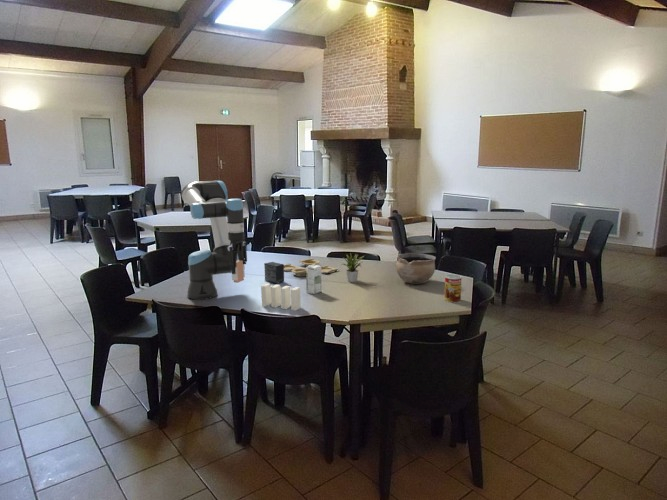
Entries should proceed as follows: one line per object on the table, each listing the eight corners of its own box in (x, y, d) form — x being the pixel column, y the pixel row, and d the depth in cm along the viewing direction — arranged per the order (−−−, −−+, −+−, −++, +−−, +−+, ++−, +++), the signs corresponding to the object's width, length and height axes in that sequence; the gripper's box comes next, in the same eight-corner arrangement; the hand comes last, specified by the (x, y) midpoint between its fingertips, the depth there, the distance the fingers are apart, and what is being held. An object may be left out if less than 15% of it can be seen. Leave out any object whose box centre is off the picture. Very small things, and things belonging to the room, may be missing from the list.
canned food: (450, 303, 242) (451, 279, 240) (441, 299, 249) (441, 275, 247) (463, 301, 245) (464, 277, 243) (454, 296, 252) (454, 274, 250)
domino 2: (261, 305, 243) (261, 285, 241) (267, 302, 247) (266, 283, 245) (266, 306, 242) (265, 286, 240) (271, 303, 246) (270, 283, 244)
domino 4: (281, 308, 238) (280, 288, 236) (286, 305, 243) (285, 285, 241) (285, 309, 237) (285, 288, 235) (290, 305, 242) (290, 286, 240)
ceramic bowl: (387, 282, 280) (387, 256, 276) (409, 275, 295) (410, 250, 292) (421, 290, 265) (421, 262, 262) (442, 281, 280) (443, 255, 277)
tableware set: (342, 272, 304) (341, 266, 304) (300, 280, 288) (300, 273, 288) (311, 262, 333) (311, 256, 332) (272, 268, 317) (272, 262, 316)
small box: (285, 281, 285) (284, 263, 283) (276, 284, 280) (275, 266, 278) (273, 278, 292) (272, 261, 290) (264, 280, 287) (263, 263, 285)
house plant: (363, 285, 275) (363, 256, 271) (338, 284, 277) (338, 255, 274) (366, 278, 288) (366, 251, 285) (343, 277, 291) (342, 250, 288)
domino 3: (271, 307, 241) (270, 287, 239) (276, 304, 245) (276, 284, 243) (275, 307, 240) (275, 287, 238) (281, 304, 244) (280, 285, 242)
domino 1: (233, 282, 240) (232, 262, 238) (239, 279, 244) (238, 259, 242) (237, 282, 239) (236, 262, 237) (243, 280, 244) (242, 260, 241)
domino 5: (291, 309, 236) (290, 289, 234) (296, 306, 241) (295, 286, 238) (295, 310, 235) (295, 290, 233) (300, 307, 240) (300, 287, 237)
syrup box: (313, 290, 267) (313, 263, 264) (321, 292, 264) (321, 265, 261) (306, 292, 263) (305, 266, 260) (314, 294, 259) (314, 267, 256)
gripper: (231, 235, 227) (233, 284, 232) (253, 228, 243) (255, 274, 248) (217, 234, 230) (220, 282, 235) (240, 227, 246) (242, 273, 251)
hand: (238, 278), depth 241 cm, fingers closed on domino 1, 5 cm apart
